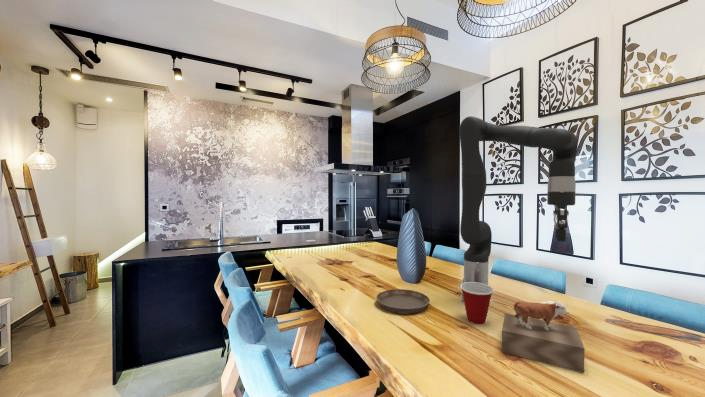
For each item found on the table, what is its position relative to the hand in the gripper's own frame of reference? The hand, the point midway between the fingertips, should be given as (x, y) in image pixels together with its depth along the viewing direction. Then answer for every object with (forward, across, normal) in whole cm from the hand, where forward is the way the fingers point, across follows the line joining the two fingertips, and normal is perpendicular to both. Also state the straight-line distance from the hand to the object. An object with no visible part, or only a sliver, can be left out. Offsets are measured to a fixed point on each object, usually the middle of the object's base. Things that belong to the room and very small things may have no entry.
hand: (560, 239), depth 96 cm
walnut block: (+29, +21, -6) cm, 36 cm away
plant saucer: (+30, +11, -51) cm, 60 cm away
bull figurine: (+23, +21, -6) cm, 32 cm away
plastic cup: (+29, +10, -24) cm, 39 cm away
